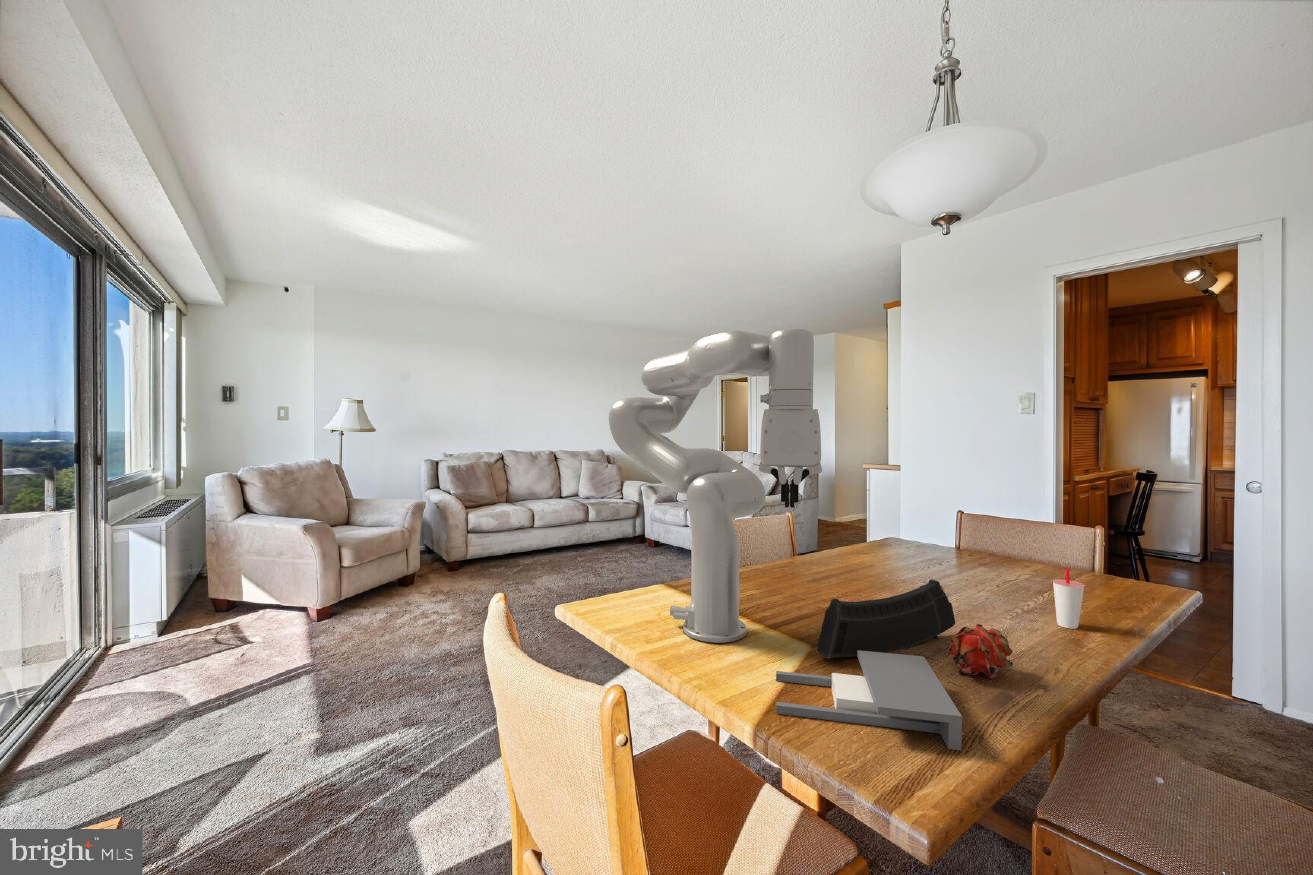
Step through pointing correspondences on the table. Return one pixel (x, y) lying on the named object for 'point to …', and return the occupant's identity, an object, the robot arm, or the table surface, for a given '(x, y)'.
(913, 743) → the table surface
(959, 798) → the table surface
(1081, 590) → the cup
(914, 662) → the dock
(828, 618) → the magazine
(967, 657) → the dragon fruit
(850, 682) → the white rounded slab
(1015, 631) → the table surface
